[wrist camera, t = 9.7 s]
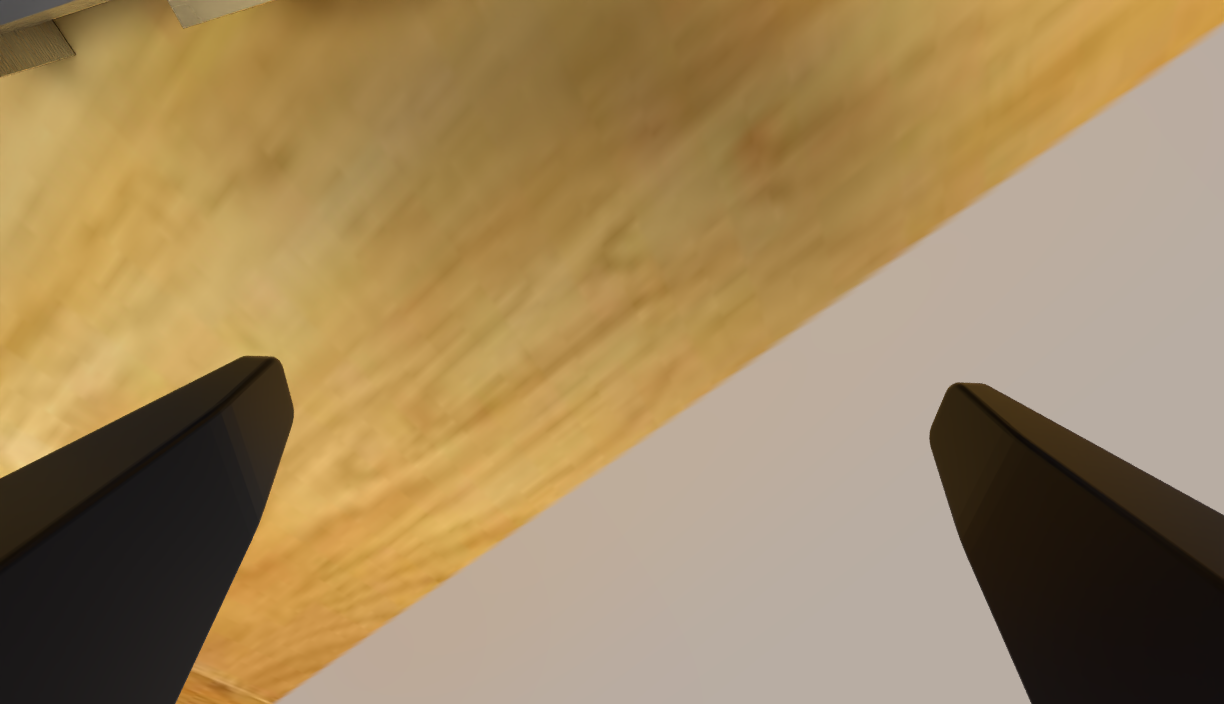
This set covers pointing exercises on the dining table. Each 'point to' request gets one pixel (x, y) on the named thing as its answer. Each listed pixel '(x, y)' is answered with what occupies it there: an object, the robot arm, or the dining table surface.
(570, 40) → the dining table surface
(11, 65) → the pipe valve
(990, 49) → the dining table surface
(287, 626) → the dining table surface
